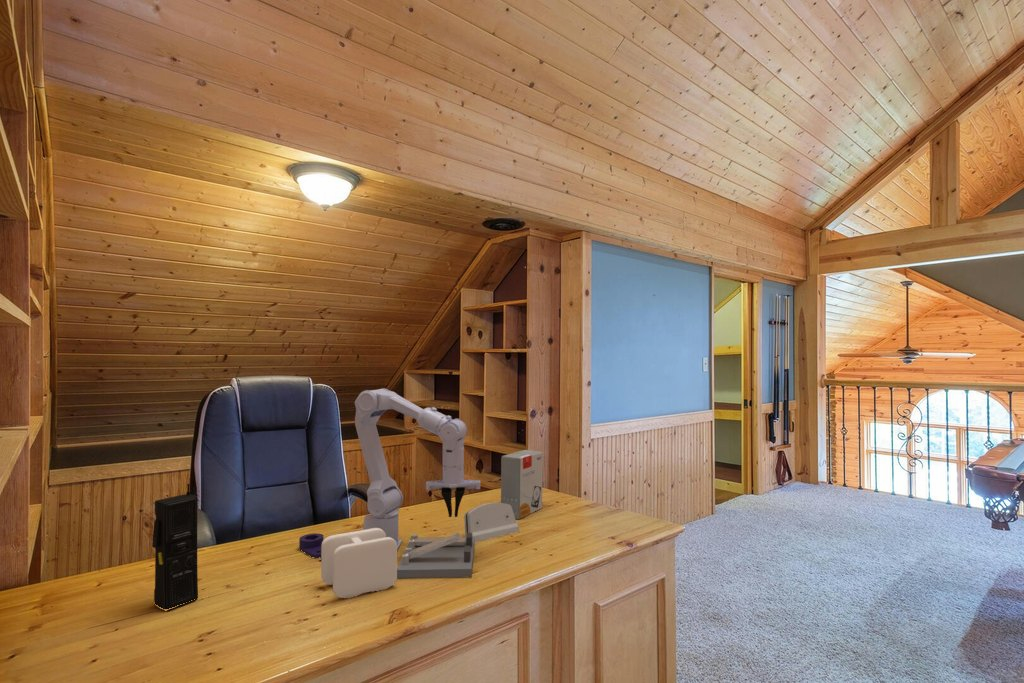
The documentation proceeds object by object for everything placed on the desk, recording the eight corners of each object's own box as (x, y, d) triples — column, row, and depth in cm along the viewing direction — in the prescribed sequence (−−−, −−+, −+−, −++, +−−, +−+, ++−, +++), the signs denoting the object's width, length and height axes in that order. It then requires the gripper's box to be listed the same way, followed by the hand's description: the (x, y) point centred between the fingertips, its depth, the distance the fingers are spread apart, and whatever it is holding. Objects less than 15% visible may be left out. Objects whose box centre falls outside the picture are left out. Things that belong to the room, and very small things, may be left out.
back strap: (409, 546, 141) (409, 541, 141) (411, 542, 144) (411, 537, 144) (464, 546, 142) (464, 541, 142) (464, 542, 145) (465, 537, 145)
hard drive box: (519, 520, 170) (519, 458, 171) (499, 516, 175) (499, 456, 175) (543, 508, 183) (543, 451, 184) (524, 505, 188) (524, 448, 188)
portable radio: (160, 615, 109) (162, 494, 110) (147, 607, 113) (148, 490, 113) (200, 599, 116) (201, 485, 117) (185, 593, 119) (187, 482, 120)
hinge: (472, 543, 150) (467, 506, 153) (465, 543, 154) (459, 508, 157) (521, 531, 159) (514, 498, 162) (512, 533, 163) (506, 499, 166)
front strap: (404, 562, 131) (402, 556, 131) (406, 557, 134) (404, 552, 134) (459, 541, 132) (457, 535, 132) (460, 536, 135) (458, 531, 135)
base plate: (396, 578, 127) (396, 559, 127) (410, 544, 149) (410, 528, 149) (471, 577, 127) (471, 558, 128) (474, 544, 149) (474, 527, 150)
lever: (296, 547, 148) (296, 536, 148) (319, 542, 151) (319, 531, 151) (308, 561, 138) (308, 549, 138) (332, 556, 142) (332, 544, 142)
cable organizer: (330, 604, 114) (330, 550, 114) (320, 585, 123) (320, 535, 124) (397, 588, 122) (397, 537, 122) (383, 571, 131) (383, 524, 131)
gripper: (424, 468, 138) (424, 521, 137) (479, 468, 138) (480, 520, 138) (427, 463, 145) (427, 512, 144) (480, 462, 145) (480, 511, 145)
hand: (453, 515), depth 142 cm, fingers closed
